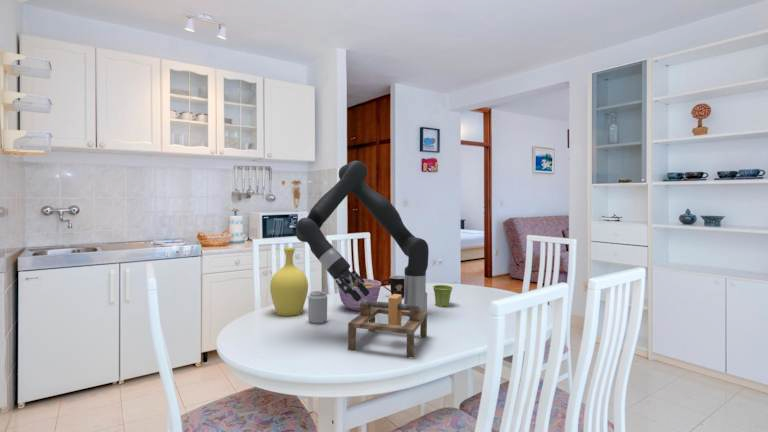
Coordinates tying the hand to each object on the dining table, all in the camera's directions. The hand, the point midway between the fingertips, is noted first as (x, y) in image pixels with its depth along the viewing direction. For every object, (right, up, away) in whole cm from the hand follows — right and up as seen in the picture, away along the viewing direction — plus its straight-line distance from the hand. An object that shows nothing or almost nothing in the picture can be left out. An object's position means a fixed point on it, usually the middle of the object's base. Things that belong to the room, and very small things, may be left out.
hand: (363, 297), depth 149 cm
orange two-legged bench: (+11, -10, -3) cm, 15 cm away
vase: (-34, -13, +33) cm, 49 cm away
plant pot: (+35, -13, +49) cm, 61 cm away
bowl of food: (-4, -13, +42) cm, 44 cm away
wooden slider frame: (+9, -15, -2) cm, 18 cm away
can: (-20, -14, +21) cm, 32 cm away
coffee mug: (+13, -12, +65) cm, 67 cm away
